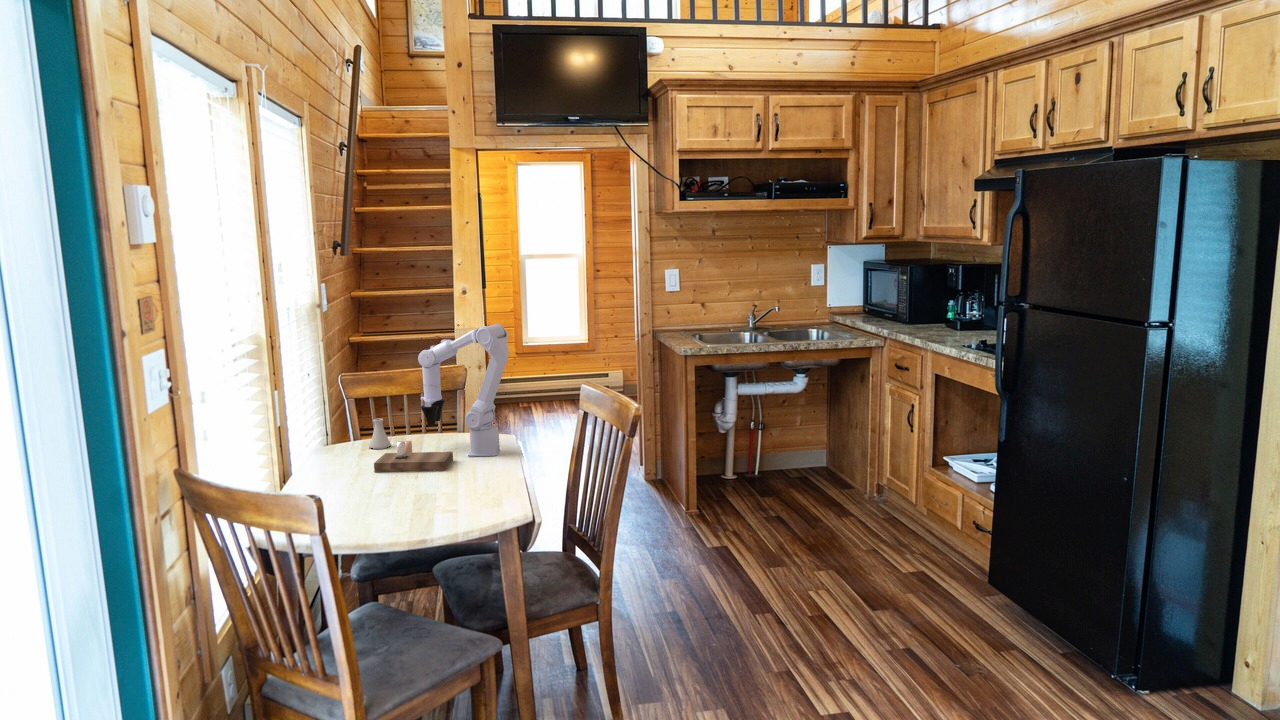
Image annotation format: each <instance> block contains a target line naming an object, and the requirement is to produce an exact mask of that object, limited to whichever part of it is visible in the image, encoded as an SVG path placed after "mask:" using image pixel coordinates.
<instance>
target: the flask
mask: <svg viewBox="0 0 1280 720" xmlns="http://www.w3.org/2000/svg"><path fill="white" fill-rule="evenodd" d="M372 421H373V424H374V428H373V433H372V436H371V440H370V444H369V446H368V449H371V448H373V449H372V450H383V449H388V448H390V447H391V446H392V443H391V442H390V439H389V438H388V435H387V433H386V431H385V428H384V425H383V424H384V423H383V421H384V418H375V419H372ZM390 445H391V446H390ZM389 446H390V447H389ZM387 447H388V448H387Z"/></svg>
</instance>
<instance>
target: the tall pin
mask: <svg viewBox="0 0 1280 720" xmlns="http://www.w3.org/2000/svg"><path fill="white" fill-rule="evenodd" d="M396 449H397V450H396V453H397V455H398V459H406V457H405V441H404V440H402V441H397V442H396Z"/></svg>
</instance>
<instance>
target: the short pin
mask: <svg viewBox="0 0 1280 720" xmlns="http://www.w3.org/2000/svg"><path fill="white" fill-rule="evenodd" d="M404 442H405V453H413V446H412V445H413V444H412V440H405V441H404Z"/></svg>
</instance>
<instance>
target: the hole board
mask: <svg viewBox="0 0 1280 720" xmlns="http://www.w3.org/2000/svg"><path fill="white" fill-rule="evenodd" d="M453 453H454V452H453V451H423V452H422V451H421V452H420V451H419V452H418V451H417V452H412V453H405V457H406V459H398V455H397V452H386V453H383V454H382V456H380V457H379V458H378V459H377V460H376V461H375V462H373V471H374V473H402V472H404V471H415V472H445V471H446V470H447V469H448V468H449V466H450V465H451V464H452V463H453V461H454V454H453ZM451 462H452V463H451ZM450 463H451V464H450ZM404 473H405V472H404Z"/></svg>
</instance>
